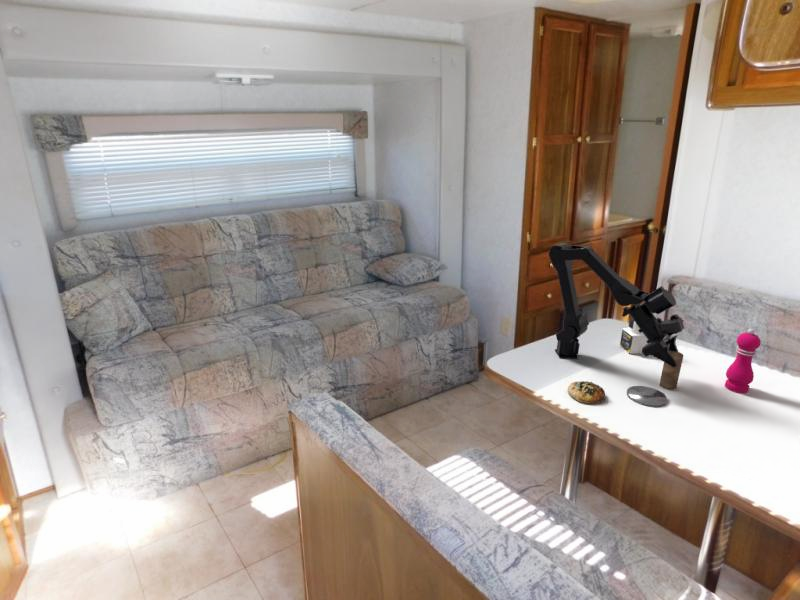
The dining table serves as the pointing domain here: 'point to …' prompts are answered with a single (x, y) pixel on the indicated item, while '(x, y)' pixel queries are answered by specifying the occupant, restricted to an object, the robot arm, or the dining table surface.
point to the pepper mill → (742, 363)
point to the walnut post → (671, 372)
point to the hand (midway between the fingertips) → (677, 363)
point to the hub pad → (646, 396)
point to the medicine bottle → (633, 338)
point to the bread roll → (586, 392)
